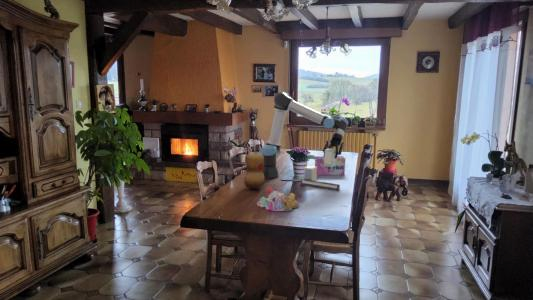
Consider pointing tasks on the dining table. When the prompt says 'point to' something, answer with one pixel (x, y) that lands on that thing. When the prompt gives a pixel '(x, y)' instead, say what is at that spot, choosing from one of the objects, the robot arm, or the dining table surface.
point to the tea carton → (329, 157)
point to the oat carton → (310, 173)
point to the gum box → (325, 170)
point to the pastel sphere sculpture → (278, 201)
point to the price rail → (320, 184)
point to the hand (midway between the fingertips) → (328, 161)
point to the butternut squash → (254, 170)
